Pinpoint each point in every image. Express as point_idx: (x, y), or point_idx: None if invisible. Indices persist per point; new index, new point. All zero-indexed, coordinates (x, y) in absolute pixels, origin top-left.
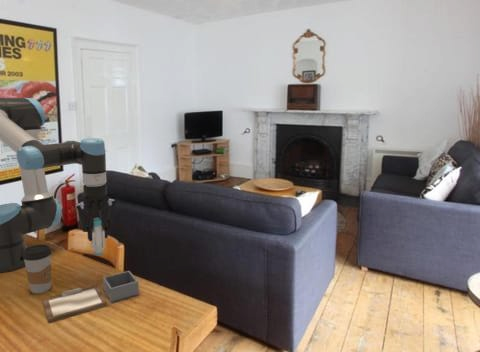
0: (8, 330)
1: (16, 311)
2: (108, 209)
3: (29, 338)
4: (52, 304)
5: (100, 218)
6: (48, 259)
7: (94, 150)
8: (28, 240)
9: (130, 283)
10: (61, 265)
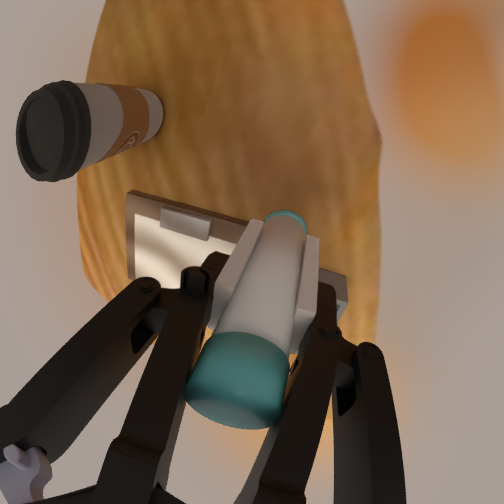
0: (83, 241)
1: (91, 187)
2: (369, 494)
3: (108, 286)
4: (139, 236)
5: (269, 417)
6: (90, 159)
7: None
8: None
9: (296, 352)
10: None
